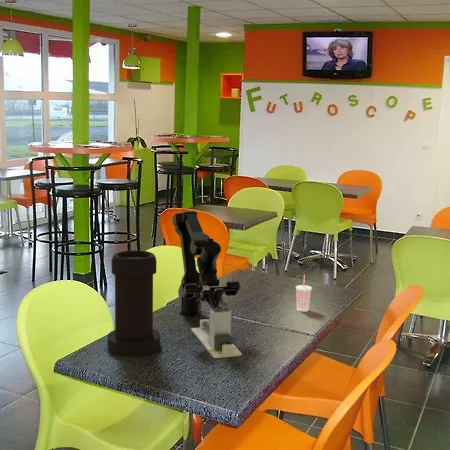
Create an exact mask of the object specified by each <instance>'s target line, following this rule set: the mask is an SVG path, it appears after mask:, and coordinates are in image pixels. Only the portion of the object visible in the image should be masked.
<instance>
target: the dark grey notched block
mask: <svg viewBox="0 0 450 450" xmlns="http://www.w3.org/2000/svg"><path fill="white" fill-rule="evenodd" d="M221 342H226V343H227V345H229V344H233V337H232V335H224V336H215V349H216V350H217V351H219V350H221Z"/></svg>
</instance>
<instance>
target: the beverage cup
mask: <svg viewBox="0 0 450 450" xmlns="http://www.w3.org/2000/svg"><path fill="white" fill-rule="evenodd" d="M305 280H306V274H303V284H302V285H301V284H300V285H296V286H295V290H296V294H295V295H296V311H298V312H308V311H309V309H310V304H311V303H310V302H311V294H312V289H313V287H312V286H309V285H307V284H306V285H305Z"/></svg>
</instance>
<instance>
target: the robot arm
mask: <svg viewBox="0 0 450 450" xmlns="http://www.w3.org/2000/svg"><path fill="white" fill-rule="evenodd" d="M171 223H172V225H173V226H174V231H175V232H176V234H177V235H178V236H179V239H180V248H181V254H182V255H181V257H182V264H183V273H184V274H183V276H182V277H181V280H180V285H179V288H178V292H177V293H178V297H179V299H180V301H181V303H180V304H181V306H180V307H181V308H180V310H181V311H179V312H178V313H179V315H183V316H189V317H195V316H197V315H199V314H201V313H203V311H202V302H206V303H207V304H208V305H209V307H210V308H213V307H220V302H221V301H220V300H221V299H222V298H223V297H222V295H223V296H224V294H225V295H226V296H227V297H229V296H231V297H232V296H236V295H237V294H238V293H239V291H240V289H241V283H240V282H239V281H238V280H229V281H228V280H227V282H226V284H225V285H220V279H219V278H218V269H217V268H216V269H215V265H214V263H215V262H216V263H217V260H218V258H219V255H220V253H221V251H222V247H221V246H222V245H220V244H219V242H217V241H214V238H211V237H210V235H208V234H207V233H205V232H204V230H203V228H202V225H201V223H200V221H199V218H198V213H197V211H195V210H184V211H181V212H176V213H175V214H173V216H172V222H171ZM196 256H198V257H197V258H196ZM221 297H222V298H221Z"/></svg>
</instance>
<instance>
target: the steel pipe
mask: <svg viewBox="0 0 450 450" xmlns="http://www.w3.org/2000/svg"><path fill="white" fill-rule="evenodd" d="M203 326H204V327H205V328H206V330H207V331H208V332H209V333H210V323H209V324H208V323H207V322H204V323H203ZM222 345H227V343H226V342H221V347H222Z"/></svg>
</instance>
